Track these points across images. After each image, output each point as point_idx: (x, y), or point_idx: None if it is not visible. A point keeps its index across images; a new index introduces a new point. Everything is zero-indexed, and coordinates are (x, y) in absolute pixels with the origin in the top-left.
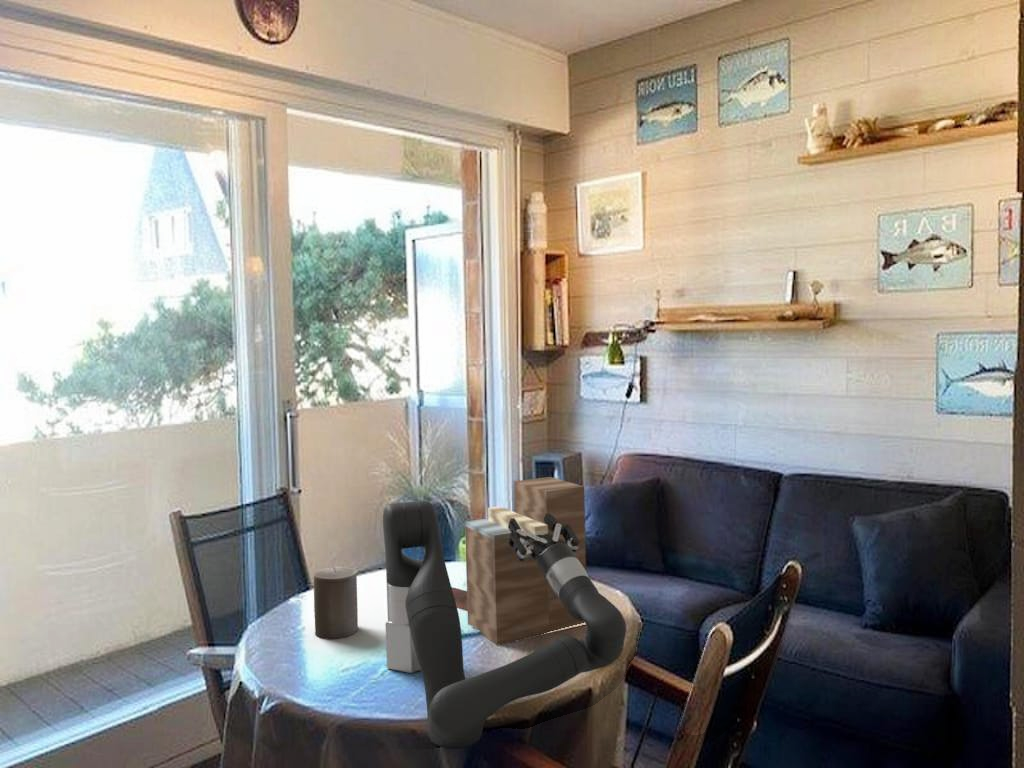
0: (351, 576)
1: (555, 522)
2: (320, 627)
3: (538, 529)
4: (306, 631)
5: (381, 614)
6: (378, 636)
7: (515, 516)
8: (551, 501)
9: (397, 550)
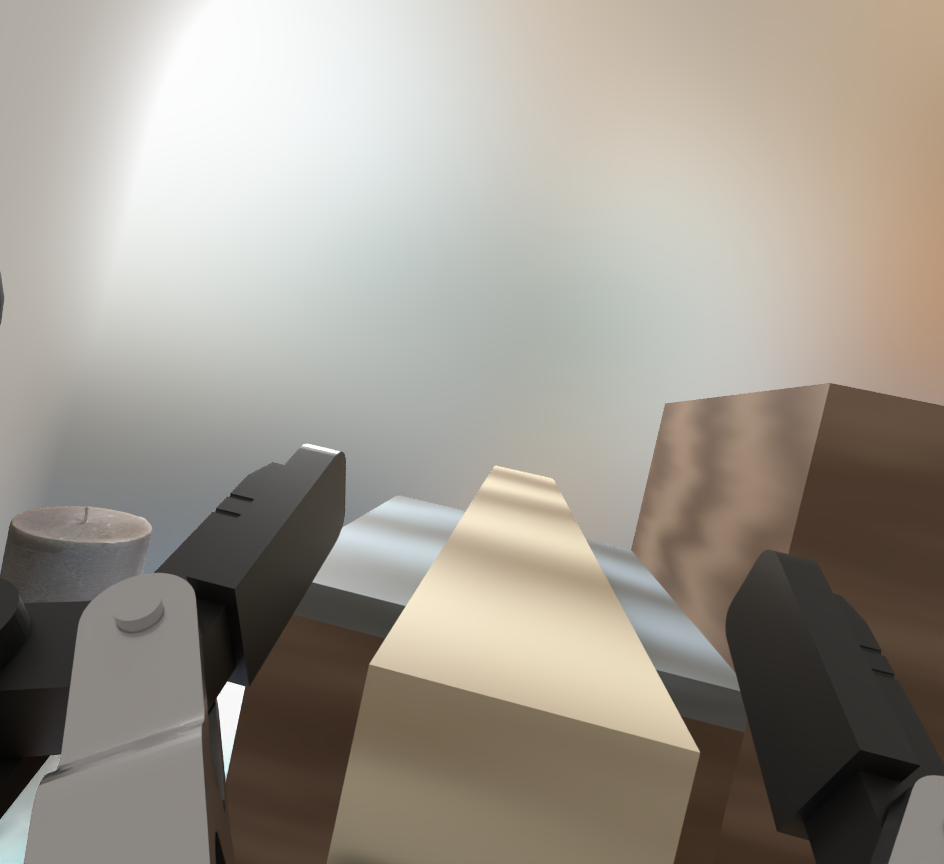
0: (73, 544)
1: (901, 737)
2: None
3: (441, 753)
4: None
5: (228, 686)
6: (46, 765)
7: (513, 506)
8: (863, 489)
9: None
